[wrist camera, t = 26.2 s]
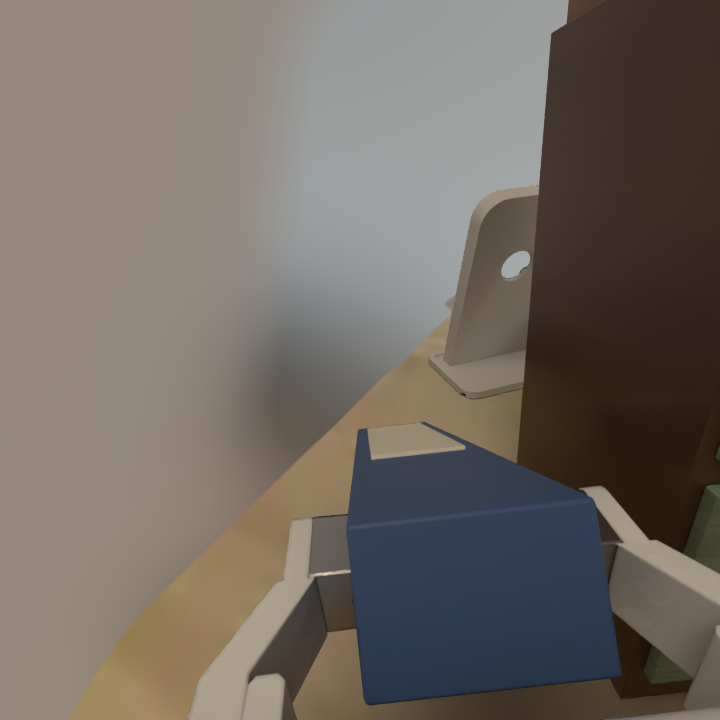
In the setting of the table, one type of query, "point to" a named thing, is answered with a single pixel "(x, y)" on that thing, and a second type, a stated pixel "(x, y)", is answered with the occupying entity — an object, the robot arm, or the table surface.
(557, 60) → the drawer stand
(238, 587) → the table surface
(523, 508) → the case
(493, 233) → the phone holder
